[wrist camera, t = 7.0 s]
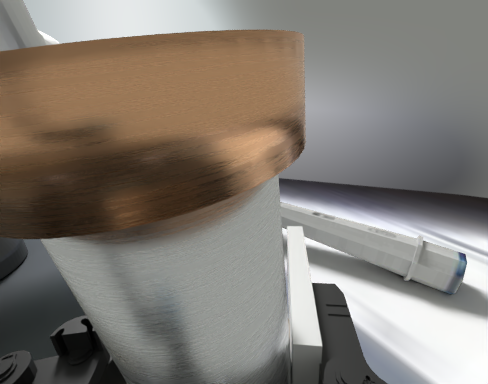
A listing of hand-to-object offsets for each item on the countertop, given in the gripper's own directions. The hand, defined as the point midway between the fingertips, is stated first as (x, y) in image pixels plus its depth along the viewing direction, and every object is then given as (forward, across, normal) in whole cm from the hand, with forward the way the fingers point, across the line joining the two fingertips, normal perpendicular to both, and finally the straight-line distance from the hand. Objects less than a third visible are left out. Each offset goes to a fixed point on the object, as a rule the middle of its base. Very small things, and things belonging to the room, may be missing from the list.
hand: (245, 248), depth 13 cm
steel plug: (-5, 0, -10) cm, 11 cm away
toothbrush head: (+15, +7, -11) cm, 20 cm away
